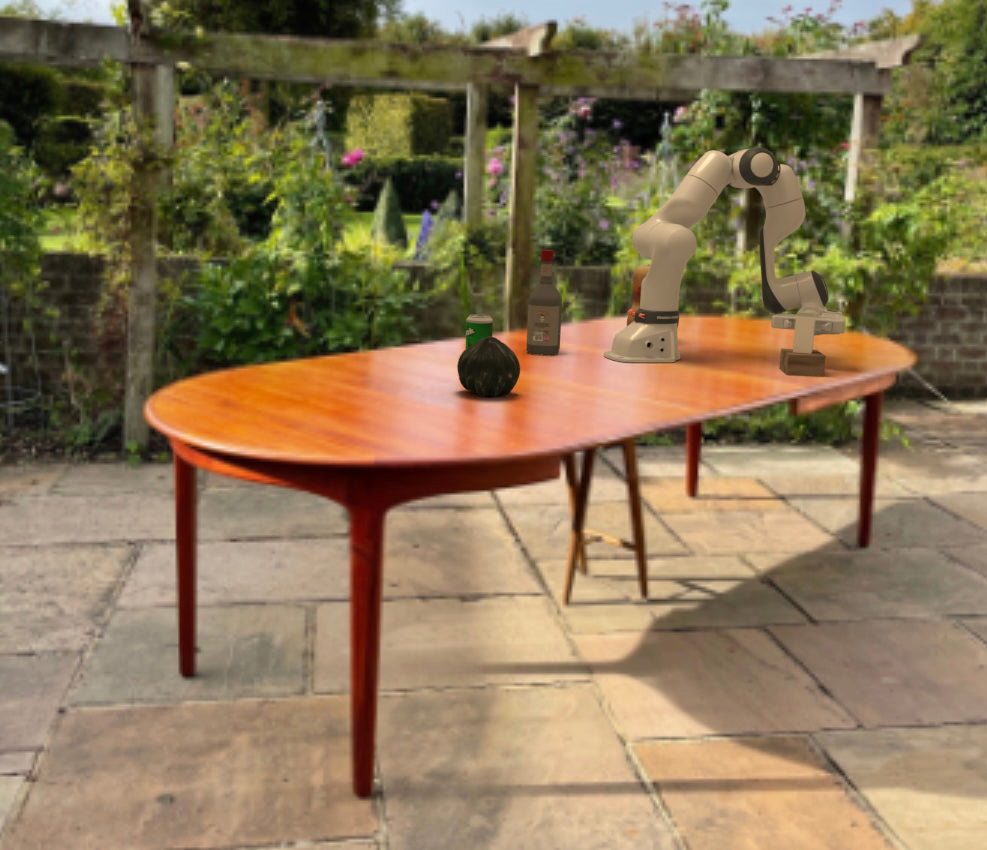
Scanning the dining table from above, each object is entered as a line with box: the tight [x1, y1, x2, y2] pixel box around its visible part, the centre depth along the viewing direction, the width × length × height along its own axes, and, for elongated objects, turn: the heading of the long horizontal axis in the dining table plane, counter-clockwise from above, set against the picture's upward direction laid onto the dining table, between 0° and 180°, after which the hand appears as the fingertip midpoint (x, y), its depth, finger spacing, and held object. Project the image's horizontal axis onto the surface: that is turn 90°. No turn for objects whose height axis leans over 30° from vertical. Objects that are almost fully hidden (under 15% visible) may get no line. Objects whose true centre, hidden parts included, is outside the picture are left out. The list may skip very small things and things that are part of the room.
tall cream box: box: [792, 310, 816, 354], centre depth 302 cm, size 5×5×11 cm
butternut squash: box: [626, 263, 651, 327], centre depth 346 cm, size 14×13×25 cm
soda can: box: [465, 313, 494, 349], centre depth 309 cm, size 8×8×12 cm
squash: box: [457, 336, 521, 398], centre depth 260 cm, size 14×15×15 cm
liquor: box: [525, 249, 563, 356], centre depth 319 cm, size 9×9×30 cm
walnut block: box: [778, 348, 827, 378], centre depth 303 cm, size 10×10×6 cm
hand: (806, 326), depth 303 cm, fingers open, 8 cm apart
